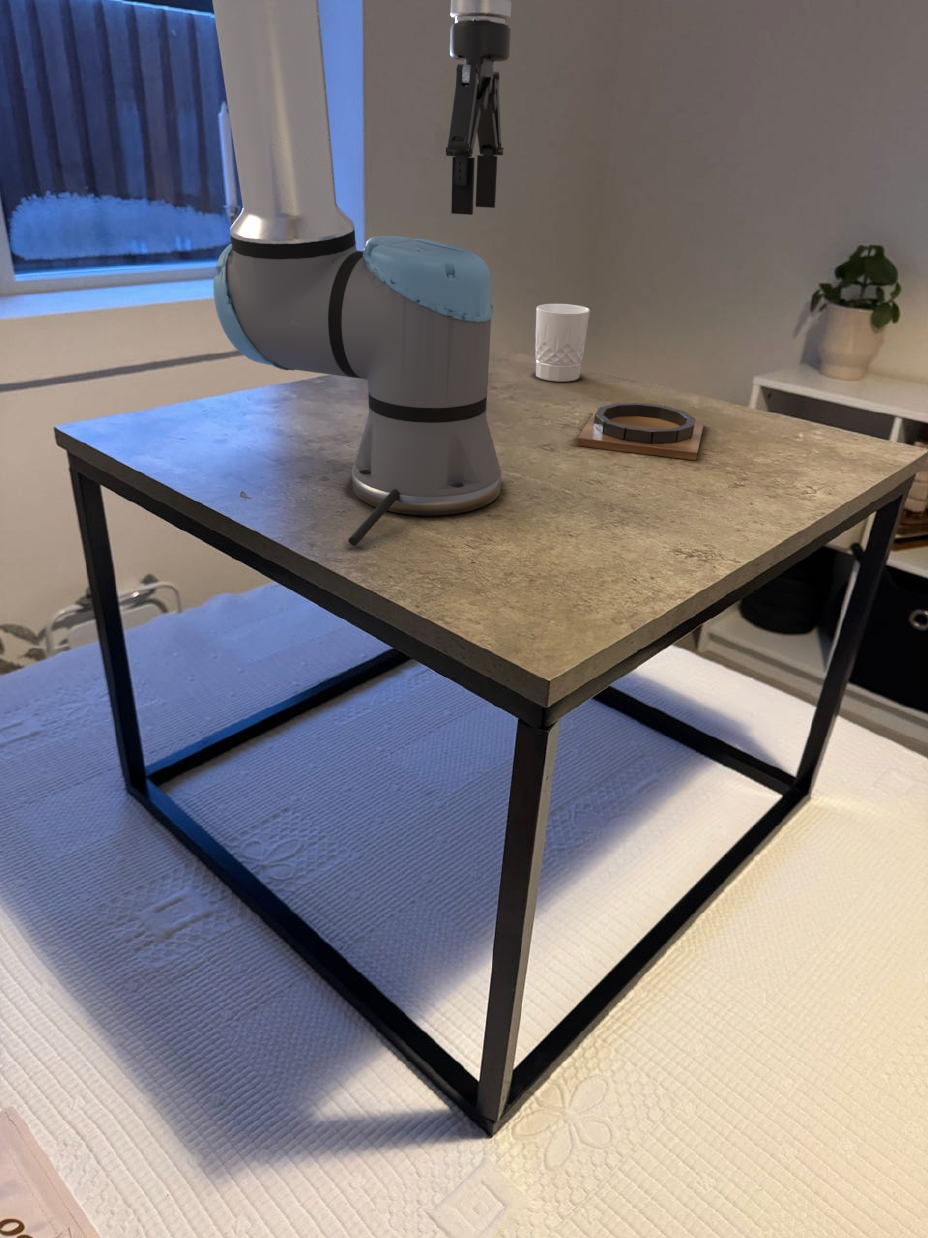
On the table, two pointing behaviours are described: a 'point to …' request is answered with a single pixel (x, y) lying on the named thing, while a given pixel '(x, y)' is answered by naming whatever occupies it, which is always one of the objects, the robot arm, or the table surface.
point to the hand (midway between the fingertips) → (474, 210)
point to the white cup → (560, 341)
